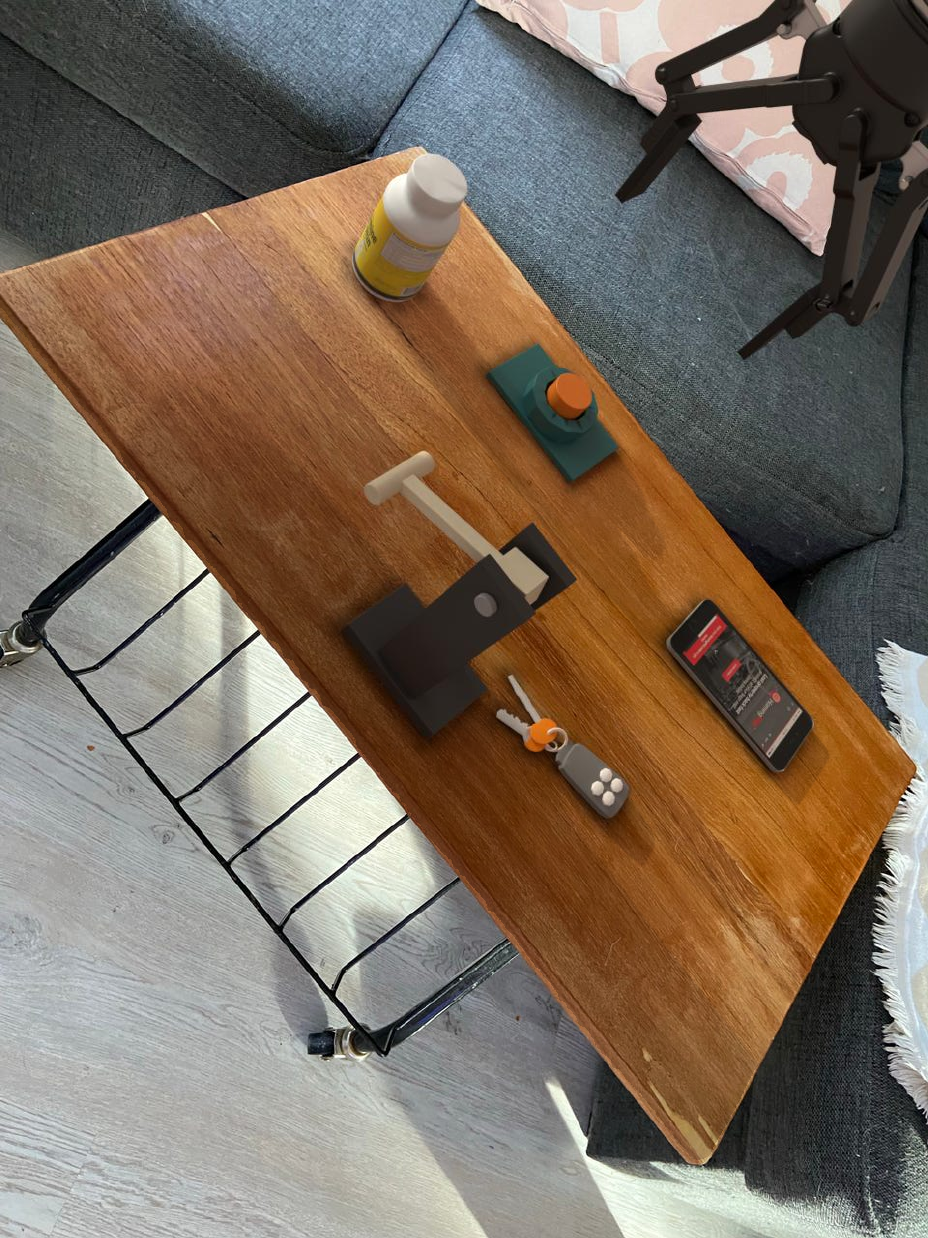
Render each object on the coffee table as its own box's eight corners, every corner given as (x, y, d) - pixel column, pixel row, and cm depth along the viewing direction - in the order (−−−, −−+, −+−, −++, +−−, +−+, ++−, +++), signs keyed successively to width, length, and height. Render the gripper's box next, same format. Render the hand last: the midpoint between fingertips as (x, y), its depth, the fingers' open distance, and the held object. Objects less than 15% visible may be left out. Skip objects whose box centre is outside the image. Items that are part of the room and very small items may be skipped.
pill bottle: (378, 230, 86) (432, 130, 76) (432, 283, 87) (493, 190, 77) (334, 264, 82) (385, 163, 73) (391, 318, 83) (449, 226, 73)
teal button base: (485, 375, 86) (498, 359, 84) (534, 347, 90) (548, 330, 87) (569, 484, 86) (584, 470, 83) (615, 450, 89) (631, 437, 87)
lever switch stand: (340, 630, 71) (443, 526, 56) (398, 590, 74) (510, 481, 59) (425, 740, 71) (550, 664, 56) (479, 694, 74) (611, 612, 59)
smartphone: (708, 595, 87) (816, 722, 87) (703, 598, 88) (811, 725, 88) (666, 642, 83) (780, 775, 83) (661, 644, 84) (774, 777, 84)
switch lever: (360, 500, 61) (367, 474, 59) (415, 466, 64) (423, 440, 62) (499, 629, 58) (511, 606, 56) (551, 588, 61) (563, 565, 59)
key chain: (626, 787, 77) (637, 784, 76) (604, 823, 75) (615, 820, 74) (508, 675, 76) (517, 669, 75) (482, 708, 74) (491, 702, 73)
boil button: (538, 392, 85) (548, 381, 83) (563, 377, 87) (574, 366, 85) (564, 425, 85) (574, 415, 83) (588, 409, 87) (599, 399, 85)
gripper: (760, -186, 48) (545, 141, 66) (1077, 214, 47) (774, 436, 65) (831, -193, 52) (610, 117, 70) (1123, 175, 52) (826, 393, 69)
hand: (689, 271), depth 68 cm, fingers open, 13 cm apart
